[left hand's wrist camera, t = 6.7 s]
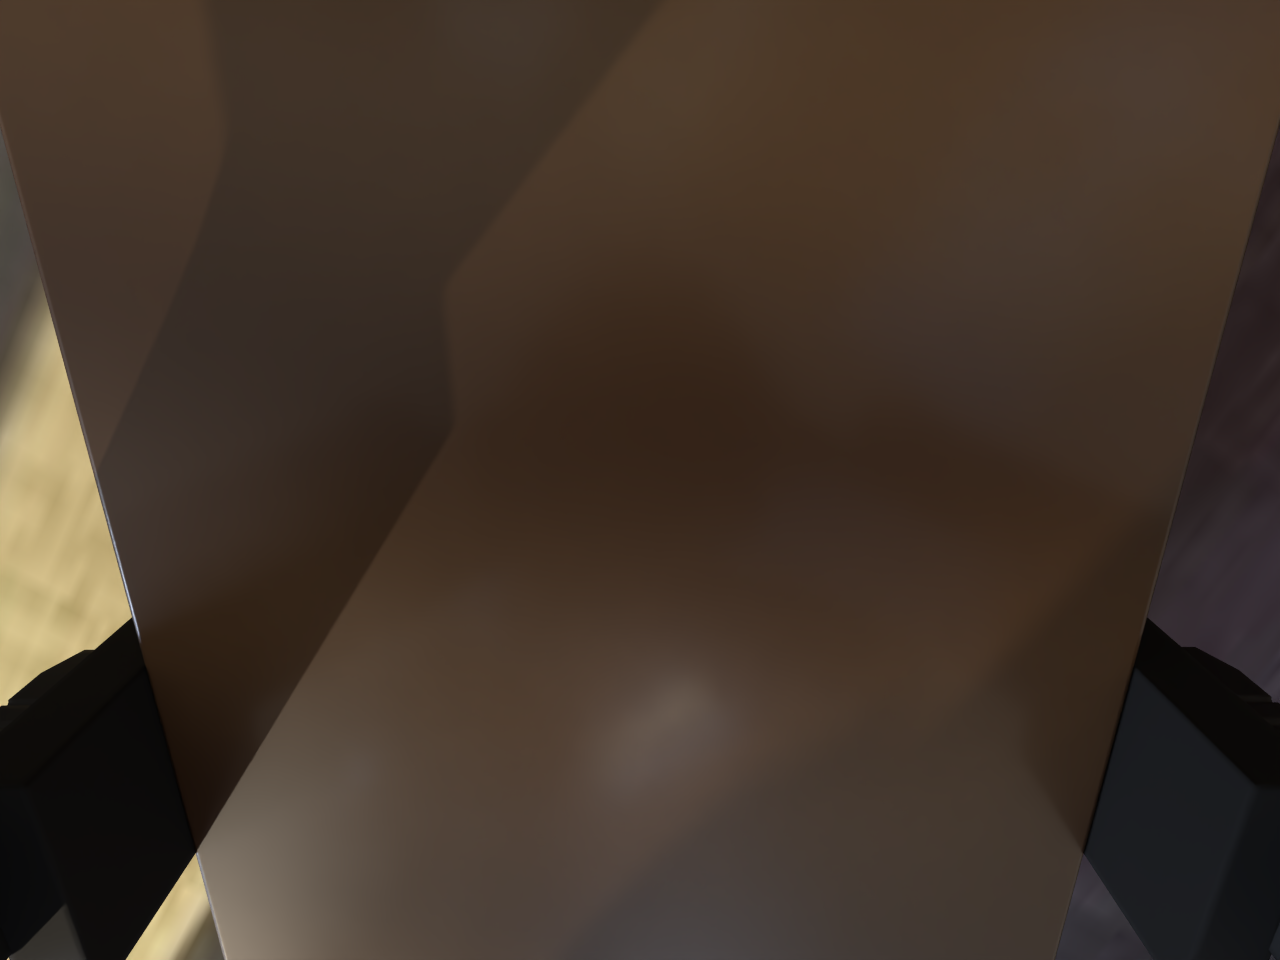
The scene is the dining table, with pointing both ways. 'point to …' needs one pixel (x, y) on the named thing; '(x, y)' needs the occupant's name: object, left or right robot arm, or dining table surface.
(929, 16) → the cabinet
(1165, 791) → the left robot arm
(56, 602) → the dining table surface
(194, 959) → the dining table surface
